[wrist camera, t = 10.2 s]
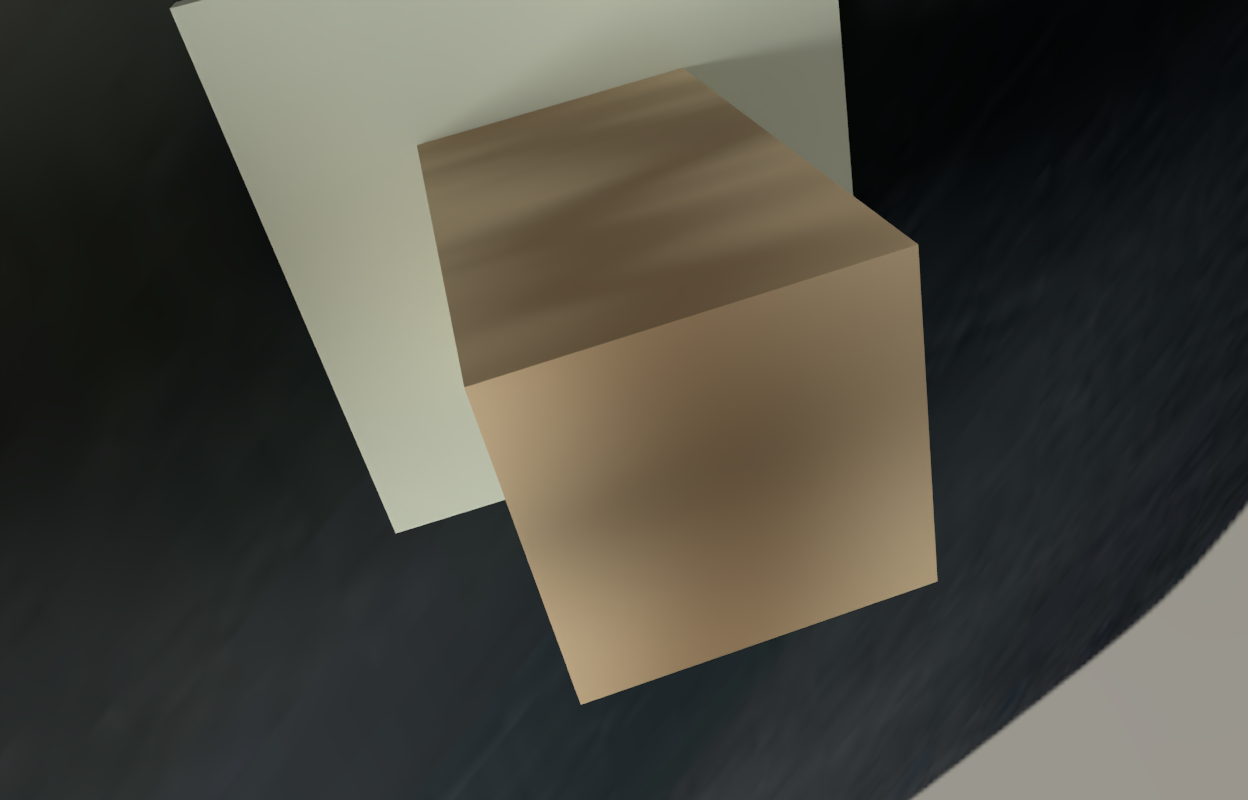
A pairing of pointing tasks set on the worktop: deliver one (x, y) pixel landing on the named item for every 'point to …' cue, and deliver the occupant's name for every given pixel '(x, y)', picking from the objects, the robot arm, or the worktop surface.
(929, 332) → the worktop surface
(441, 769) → the worktop surface
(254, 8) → the sage mat
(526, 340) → the maple block
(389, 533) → the worktop surface
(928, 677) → the worktop surface
